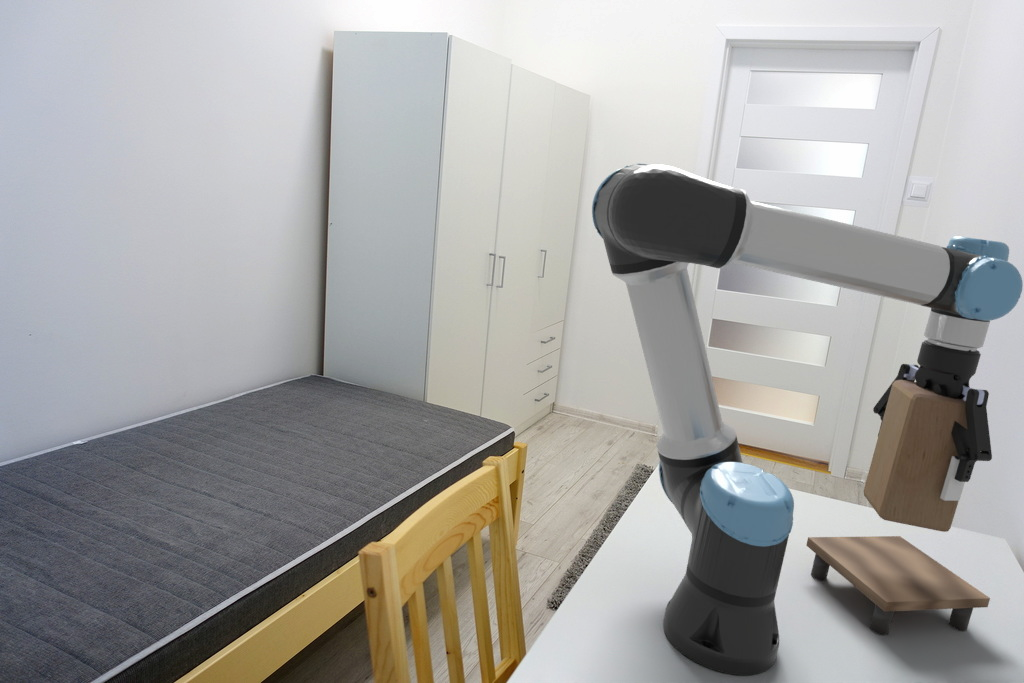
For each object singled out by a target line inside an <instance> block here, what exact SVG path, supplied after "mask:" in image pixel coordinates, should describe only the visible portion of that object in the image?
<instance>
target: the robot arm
mask: <svg viewBox="0 0 1024 683" xmlns="http://www.w3.org/2000/svg"><path fill="white" fill-rule="evenodd" d="M591 215H592V217H591V218H592V222H593V225H594V228H595V230H596V231H597V234H599V236H600V237H601V239H603V244H604V248H605V252H606V256H607V259H608V263H609V266H610V270H611V274H612V276H615V277H616V278H617V279H620V280H621V281H623V282H624V283H625V284H626V289H627V292H628V293H627V294H628V296H629V302H630V304H631V309H632V313H633V316H634V321H635V325H636V327H637V333H638V337H639V339H640V345H641V349H642V353H643V357H644V360H645V364H646V367H647V368H646V369H647V372H648V376H649V380H650V384H651V387H652V392H653V394H654V395H653V396H654V400H655V404H656V407H657V411H658V416H659V419H660V423H661V426H662V431H663V433H662V435H661V436H660V437H659V438H658V440H657V442H656V449H657V453H658V457H659V464H658V475H659V479H660V480H659V481H660V485H661V488H662V490H663V492H664V495H665V496H666V497H667V498H668V500H669V501H670V502H671V504H673V506H674V507H675V509H676V510H677V512H678V514H679V515H680V517H681V518H682V520H683V522H684V523H685V526H686V528H688V531H689V532H690V533H691V543H690V549H689V552H688V559H687V564H686V566H687V567H686V570H685V574H684V576H683V578H682V580H681V581H680V583H679V584H678V586H677V588H676V590H675V592H674V594H673V595H672V597H671V599H670V600H669V601H668V602H667V604H666V607H665V611H664V616H663V622H662V626H663V627H662V628H663V631H664V634H665V636H666V638H667V640H669V642H670V643H671V645H673V647H674V648H675V649H676V650H677V651H679V653H681V654H682V655H684V656H685V657H687V658H688V659H690V660H691V661H693V662H694V663H697V664H699V665H700V666H703V667H706V668H708V669H711V670H714V671H717V672H720V673H725V674H731V675H739V676H745V675H746V676H748V675H755V674H760V673H763V672H766V671H767V670H769V669H770V668H771V667H772V666H773V665H775V662H776V660H777V657H778V652H779V647H780V635H779V633H780V632H779V625H778V618H777V611H776V606H775V598H776V594H777V590H778V587H779V586H778V585H779V581H780V577H781V572H782V568H783V564H784V558H785V555H786V549H787V545H788V541H789V536H790V533H791V532H792V529H793V525H794V524H793V523H794V509H795V501H794V497H793V494H792V492H791V490H790V489H789V487H788V486H787V485H786V484H785V483H784V482H783V481H782V480H781V479H780V478H779V477H777V476H775V475H774V474H772V473H771V472H765V471H764V469H763V468H760V467H758V466H755V465H752V464H749V463H744V462H743V459H742V453H741V450H740V445H739V441H738V437H737V433H736V429H735V428H734V427H733V426H732V425H730V424H728V423H727V422H725V421H723V419H722V415H721V410H720V407H719V402H718V397H717V393H716V389H715V384H714V380H713V375H712V371H711V368H710V362H709V359H708V354H707V350H706V349H707V348H706V345H705V342H704V336H703V332H702V327H701V323H700V319H699V315H698V310H697V306H696V301H695V298H694V294H693V288H692V283H691V280H690V276H689V271H688V266H689V264H694V265H700V266H701V265H702V266H706V267H710V268H714V269H715V268H716V269H718V270H720V269H724V268H726V267H727V266H729V265H730V264H735V265H741V266H745V267H749V268H754V269H757V270H758V269H759V270H763V271H768V272H772V273H777V274H781V275H785V276H790V277H793V278H798V279H801V280H807V281H812V282H815V283H821V284H825V285H830V286H833V287H838V288H843V289H847V290H852V291H856V292H861V293H865V294H869V295H874V296H877V297H883V298H888V299H891V300H895V301H900V302H905V303H909V304H914V305H919V306H922V307H926V308H930V313H929V315H928V319H927V323H926V327H925V331H924V334H923V336H924V337H925V338H926V339H925V340H923V341H922V342H921V345H920V348H919V353H918V356H917V364H912V363H911V364H910V363H902V364H901V365H900V366H899V370H898V373H897V376H896V377H895V378H894V380H893V381H892V382H891V384H890V385H889V386H888V388H887V389H886V390H885V392H884V393H883V395H882V396H881V397H880V399H879V400H878V401H877V403H876V404H875V405H874V406H873V409H872V410H873V413H874V414H877V415H878V416H879V418H880V420H881V421H880V422H881V423H880V426H879V430H878V434H877V437H878V436H879V432H880V428H881V425H882V421H883V417H884V413H885V410H886V406H887V402H888V399H889V395H890V391H891V388H892V384H893V383H894V381H896V380H906V381H912V382H916V383H917V384H916V385H917V386H919V387H921V388H927V389H929V390H932V391H934V393H936V394H938V395H942V396H944V397H950V398H953V399H956V398H959V399H963V400H964V401H966V403H965V411H966V420H967V429H968V430H967V429H966V428H965V427H963V426H962V425H960V424H959V423H958V422H956V421H954V425H953V428H952V432H951V434H952V437H953V441H954V444H955V447H956V450H957V453H958V455H957V456H952V459H951V462H950V465H949V469H948V472H947V476H946V479H945V483H944V486H943V490H942V493H941V496H940V498H941V499H942V500H945V501H959V502H960V500H961V495H962V493H963V490H964V486H965V483H968V482H969V481H970V480H971V476H972V474H973V470H974V467H975V464H976V462H978V461H979V462H990V461H991V460H992V459H993V455H992V454H993V452H992V446H991V445H992V444H991V437H990V436H991V435H990V426H989V420H988V412H987V404H988V400H989V395H990V393H989V391H988V390H987V389H980V388H979V389H977V388H973V387H970V381H971V380H970V379H971V378H972V377H973V376H975V375H976V372H977V369H978V366H979V361H980V359H981V355H982V354H981V353H980V351H979V349H980V348H983V347H984V344H985V340H986V336H987V333H988V330H989V326H990V323H991V321H995V320H998V319H1000V318H1003V317H1004V316H1006V315H1008V314H1009V313H1010V312H1011V311H1012V310H1013V309H1014V308H1015V307H1016V306H1017V304H1018V302H1019V301H1020V298H1021V295H1022V293H1023V292H1022V291H1023V283H1024V282H1023V278H1022V275H1021V273H1020V271H1019V270H1018V268H1017V267H1016V266H1015V265H1014V264H1013V263H1011V262H1009V257H1010V256H1009V255H1010V248H1009V245H1008V244H1006V243H1004V242H1002V241H996V240H989V239H981V238H974V237H973V238H972V237H967V236H966V237H965V236H959V235H955V236H953V237H951V238H950V240H949V242H948V244H947V245H946V247H944V246H940V245H937V244H932V243H929V242H924V241H921V240H916V239H912V238H907V237H904V236H900V235H896V234H892V233H888V232H883V231H879V230H875V229H870V228H866V227H862V226H857V225H854V224H851V223H845V222H843V221H842V222H841V221H838V220H837V221H836V220H833V219H828V218H824V217H819V216H816V215H812V214H808V213H803V212H800V211H795V210H791V209H786V208H783V207H779V206H773V205H769V204H766V203H763V202H757V201H752V200H750V198H749V195H748V194H747V192H746V191H745V190H744V189H741V188H737V187H733V186H729V185H726V184H723V183H719V182H717V181H713V180H710V179H707V178H706V177H702V176H699V175H697V174H694V173H691V172H689V171H687V170H684V169H681V168H679V167H675V166H672V165H668V164H660V163H657V164H655V163H654V164H646V163H636V164H632V165H626V166H624V167H622V168H621V167H620V168H619V169H616V170H615V171H614V172H612V173H611V174H609V175H608V176H606V178H605V179H604V180H602V182H601V183H600V184H599V186H598V188H597V190H596V191H595V193H594V197H593V200H592V205H591ZM977 349H978V350H977Z"/></svg>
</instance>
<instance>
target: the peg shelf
mask: <svg viewBox="0 0 1024 683" xmlns="http://www.w3.org/2000/svg"><path fill="white" fill-rule="evenodd" d="M806 547H808V548H809V550H811V551H812V552H813V553H815V554H814V558H813V559H814V560H813V563H812V568H811V573H810V575H811V577H812V578H814V579H815V580H819V581H826V580H827V578H828V573H829V570H830V568H832V569H834V570H835V571H836V572H837V573H838V574H839V575H841V576H842V578H844V579H846V580H847V582H849V583H850V585H853V586H854V587H855V588H856V589H857V590H859V592H861V594H863V595H864V596H865V597H867V598H868V599H869V600H870V601H871V602H872V603H874V610H873V614H872V617H871V621H870V625H869V628H870V630H871V631H872V632H873V633H875V634H878V635H881V636H887V635H889V632H890V628H891V624H892V620H893V617H894V613H895V612H905V611H907V612H909V611H910V612H911V611H925V610H926V611H929V610H932V611H933V610H951V612H950V615H949V616H950V617H949V620H948V625H949V626H950V627H951V628H953V629H954V630H957V631H961V632H967V630H968V627H969V624H970V622H971V621H970V620H971V616H972V614H973V610H974V609H976V608H977V609H980V608H988V607H989V603H990V601H991V598H990V597H989V595H986V594H985V593H983V592H982V591H980V590H979V589H977V588H976V587H974V586H973V585H972V584H970V583H969V582H967V581H966V580H965V579H963V578H962V577H960V575H957V574H956V573H954V572H953V571H952V570H950V569H948V568H947V567H946V566H944V565H943V564H941V563H940V562H938V561H937V560H935V559H934V558H933V557H931V556H930V555H928V554H926V553H925V552H923V551H922V550H921V549H919V548H918V547H916V546H915V545H914V544H912V543H911V542H909V541H908V540H906V539H905V538H903V537H902V536H901V535H895V536H894V535H892V536H890V535H889V536H887V535H885V536H883V535H882V536H876V535H875V536H808V537H807V541H806Z"/></svg>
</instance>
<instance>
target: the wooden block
mask: <svg viewBox="0 0 1024 683" xmlns="http://www.w3.org/2000/svg"><path fill="white" fill-rule="evenodd" d="M893 381H894V380H893ZM891 384H892V383H891ZM916 384H917V383H916V381H914V382H912V381H906V380H896V381H894V383H893V384H892V388H891V391H890V395H889V399H888V402H887V406H886V410H885V413H884V417H883V421H882V420H881V422H882V425H881V424H880V426H881V428H880V427H879V430H880V432H879V431H878V433H879V436H878V435H877V440H876V444H875V446H874V452H873V455H872V458H871V462H870V466H869V469H868V474H867V476H866V480H865V484H864V488H863V496H864V497H865V499H866V500H867V501H868V503H869V504H870V505H871V507H872V509H874V511H875V512H876V514H877V515H878V516H879V518H880V519H882V520H884V521H887V522H892V523H897V524H902V525H907V526H912V527H913V526H914V527H918V528H922V529H927V530H933V531H938V532H943V533H945V532H946V533H948V532H949V531H950V529H951V527H952V525H953V522H954V519H955V518H954V517H955V514H956V511H957V508H958V504H959V502H960V500H959V501H945V500H942V499H941V498H940V496H941V493H942V490H943V486H944V483H945V479H946V476H947V472H948V469H949V465H950V462H951V459H952V456H957V455H958V453H957V450H956V447H955V444H954V441H953V437H952V434H951V432H952V428H953V425H954V421H956V422H958V423H959V424H960V425H962V426H963V427H965V428H966V429H967V420H966V411H965V403H966V401H964V400H963V399H959V398H956V399H953V398H950V397H944V396H942V395H938V394H936V393H934V391H932V390H929V389H927V388H921V387H919V386H917V385H916ZM967 430H968V429H967Z"/></svg>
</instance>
